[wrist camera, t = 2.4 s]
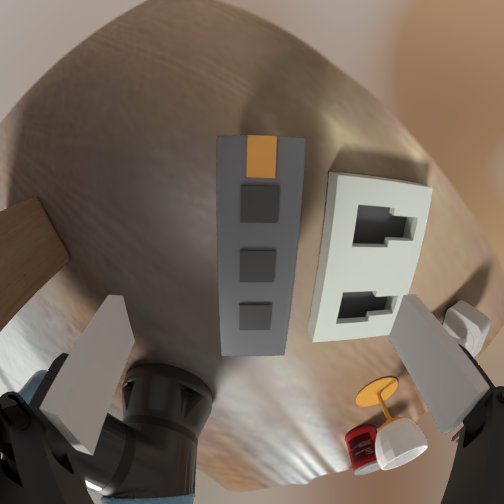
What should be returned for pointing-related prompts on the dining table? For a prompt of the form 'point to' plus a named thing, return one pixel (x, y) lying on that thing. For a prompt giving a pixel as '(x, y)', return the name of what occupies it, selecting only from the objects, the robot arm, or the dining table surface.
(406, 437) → the cup
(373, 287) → the keyhole board
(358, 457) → the canned food
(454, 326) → the wall hook
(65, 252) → the wooden block
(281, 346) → the grey slotted block
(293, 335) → the dining table surface
